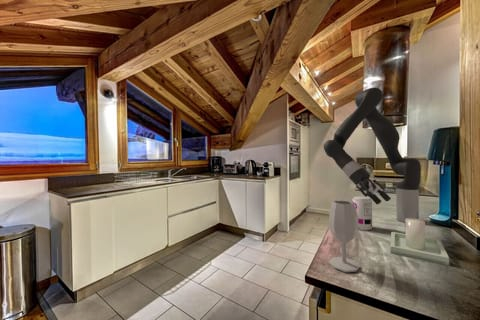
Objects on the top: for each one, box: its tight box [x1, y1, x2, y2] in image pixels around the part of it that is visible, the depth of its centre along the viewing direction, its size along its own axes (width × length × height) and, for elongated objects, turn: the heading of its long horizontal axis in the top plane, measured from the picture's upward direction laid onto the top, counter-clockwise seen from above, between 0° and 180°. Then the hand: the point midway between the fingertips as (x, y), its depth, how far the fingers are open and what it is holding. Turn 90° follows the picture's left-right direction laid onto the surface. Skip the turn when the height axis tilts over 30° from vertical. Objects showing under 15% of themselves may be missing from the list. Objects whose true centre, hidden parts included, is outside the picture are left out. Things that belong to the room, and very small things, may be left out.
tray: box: [390, 231, 450, 267], centre depth 76 cm, size 17×15×2 cm
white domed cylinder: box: [404, 218, 426, 250], centre depth 76 cm, size 6×6×10 cm
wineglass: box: [328, 199, 361, 273], centre depth 66 cm, size 9×9×21 cm
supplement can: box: [351, 195, 373, 231], centre depth 99 cm, size 8×8×15 cm
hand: (384, 201), depth 84 cm, fingers open, 8 cm apart
